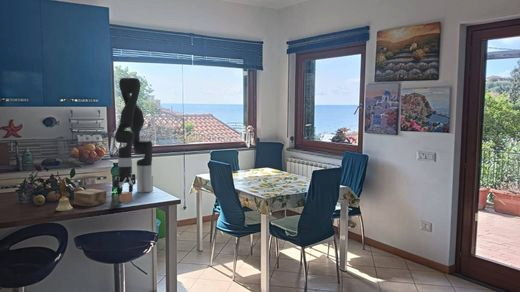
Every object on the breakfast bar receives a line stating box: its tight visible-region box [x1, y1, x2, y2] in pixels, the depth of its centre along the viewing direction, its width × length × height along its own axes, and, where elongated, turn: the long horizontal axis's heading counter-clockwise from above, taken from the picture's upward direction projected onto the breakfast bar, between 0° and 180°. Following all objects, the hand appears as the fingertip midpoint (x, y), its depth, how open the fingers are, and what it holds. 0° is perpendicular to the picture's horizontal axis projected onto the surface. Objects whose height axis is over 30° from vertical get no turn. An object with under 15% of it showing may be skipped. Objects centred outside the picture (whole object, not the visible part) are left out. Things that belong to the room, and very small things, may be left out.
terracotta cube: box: [118, 191, 133, 203], centre depth 241 cm, size 5×5×5 cm
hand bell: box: [55, 178, 74, 212], centre depth 220 cm, size 8×8×16 cm
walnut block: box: [73, 188, 107, 208], centre depth 234 cm, size 12×12×7 cm
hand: (125, 193), depth 240 cm, fingers open, 8 cm apart
